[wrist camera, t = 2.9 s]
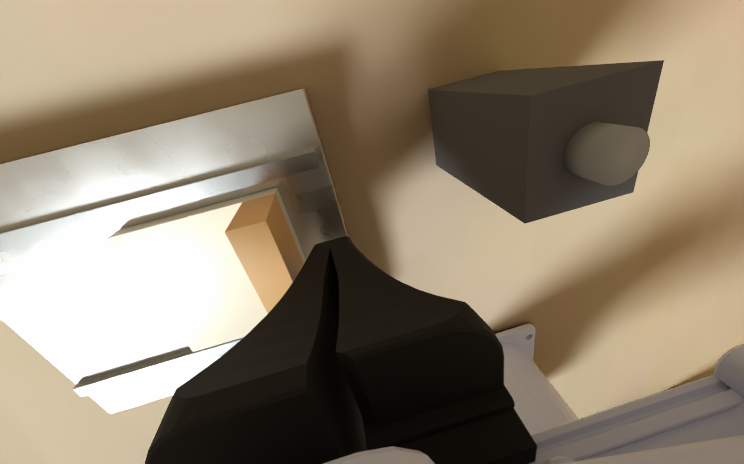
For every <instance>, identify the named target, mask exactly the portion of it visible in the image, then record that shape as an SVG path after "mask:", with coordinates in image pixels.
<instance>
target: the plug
mask: <svg viewBox="0 0 744 464" xmlns="http://www.w3.org/2000/svg"><path fill="white" fill-rule="evenodd" d="M663 62H664V60H663V61H647V62H632V63H616V64H601V65H585V66H570V67H554V68H539V69H523V70H508V71H499V72H495V73H491V74H487V75H484V76H480V77H476V78H472V79H468V80H464V81H460V82H456V83H452V84H448V85H444V86H441V87H437V88H433V89H429V90H428V93H429V102H430V111H431V120H432V129H433V138H434V146H435V155H436V164H437V166H439V167H440V168H442V169H443V170H445V171H446V172H448V173H449V174H451V175H452V176H454V177H455V178H457V179H458V180H460V181H461V182H463V183H465V184H466V185H468V186H469V187H471V188H472V189H474V190H475V191H477V192H478V193H480V194H481V195H483V196H484V197H486V198H487V199H489V200H490V201H492V202H493V203H495V204H496V205H498V206H499V207H501V208H502V209H504V210H505V211H507V212H508V213H510V214H511V215H513V216H514V217H516V218H517V219H519V220H520V221H522V222H523V223H528V222H532V221H535V220H539V219H542V218H545V217H549V216H552V215H556V214H559V213H563V212H566V211H570V210H573V209H577V208H580V207H583V206H587V205H590V204H594V203H597V202H601V201H604V200H608V199H611V198H615V197H618V196H622V195H625V194H628V193H632V192H633V191H634V186H635V182H636V178H637V173H638V170H639V169H640V168H641V166H642V165H643V163H644V161H645V159H646V157H647V155H648V152H649V147H650V140H649V136H648V134H647V131H648V126H649V122H650V118H651V113H652V109H653V105H654V100H655V96H656V92H657V88H658V83H659V79H660V75H661V70H662V66H663Z"/></svg>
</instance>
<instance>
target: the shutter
mask: <svg viewBox="0 0 744 464" xmlns="http://www.w3.org/2000/svg"><path fill="white" fill-rule="evenodd" d="M107 240H108V242H109V243H110V244H111V246H112V247H113V248H114V249H115V251H116V252H117V253H118V255H119V256H120V257H121V259H122V260H123V261H124V262H125V264H126V265H127V266H128V268H129V269H130V270H131V272H132V273H133V274H134V276H135V277H136V278H137V279H138V281H139V282H140V283H141V285H142V286H143V287H144V289H145V290H146V291H147V293H148V294H149V295H150V296H151V298H152V299H153V300H154V302H155V303H156V304H157V306H158V307H159V308H160V309H161V311H162V312H163V313H164V315H165V316H166V317H167V319H168V320H169V321H170V323H171V324H172V325H173V326H174V328H175V329H176V330H177V332H178V333H179V334H180V336H181V337H182V338H183V340H184V341H185V342H186V343H187V345H188V346H189V347H190V349H191V350H192V351H193V352H195V351H199V350H202V349H205V348H209V347H212V346H216V345H219V344H222V343H226V342H229V341H232V340H236V339H239V338H243V337H245V336H246V335H247V334H248V333H249V332H250V331H251V330H252V329H253V328H254V327H255V326H256V325H257V324H258V323H259V322H260V321H261V320H262V319H263V318H264V317H265V316H266V315H267V314H268V313H269V312H270V311H271V310H272V309H273V307H274V306H275V305H276V304H277V303H278V302H279V300H280V299H281V298H282V297H283V295H284V294H285V293H286V291H287V290H288V289H289V287H290V286H291V284H292V283H293V281H294V280H295V278H296V277H297V275H298V274H299V272H300V270H301V268H302V267H303V265H304V263H305V261H306V259H305V256H304V253H303V251H302V248H301V246H300V243H299V241H298V238H297V236H296V233H295V231H294V228H293V226H292V223H291V221H290V218H289V216H288V213H287V211H286V208H285V205H284V203H283V200H282V198H281V195H280V193H279V190H278V188H277V187H276V188H273V189H269V190H265V191H261V192H258V193H254V194H250V195H247V196H243V197H239V198H235V199H232V200H228V201H224V202H220V203H217V204H213V205H209V206H206V207H202V208H198V209H194V210H191V211H187V212H183V213H179V214H176V215H172V216H168V217H164V218H161V219H157V220H153V221H150V222H146V223H142V224H138V225H135V226H131V227H127V228H123V229H120V230H117V231H116V232H115V233H113V234H112V235H111V236H109V237H108V238H107Z"/></svg>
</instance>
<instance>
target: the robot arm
mask: <svg viewBox="0 0 744 464" xmlns="http://www.w3.org/2000/svg"><path fill="white" fill-rule="evenodd" d="M535 333H536V329H535V327H534V326H533V325H532V324H525V325H522V326H518V327H515V328H512V329H509V330H505V331H502V332H499V333H496V334H494V332H493V331H492V330H491V328H490V327H489V326H488V325H487V324H486V323H485V322H484V321H483V319H482V318H481V317H480V316H479V315H478V314H477V313H476V312H475V311H474V310H473V309H472V308H471V307H470V306H469V305H468V304H467V303H465V302H462V301H458V300H453V299H449V298H444V297H440V296H436V295H433V294H430V293H427V292H424V291H421V290H418V289H415V288H413V287H411V286H409V285H406V284H404V283H402V282H400V281H398V280H396V279H395V278H393V277H391V276H390V275H388V274H386V273H385V272H383V271H382V270H381V269H379V268H378V267H377V266H375V265H374V264H373V263H372V262H370V261H369V260H368V259H367V258H366V257H365V256H364V255H363V254H362V253H361V252H360V251H359V250H358V249H357V248H356V247H355V246H354V244H353V243H352V241H351V240H350V238H349V237H348V236H343V237H340V238H336V239H333V240H329V241H325V242H322V243H318V244H315V245H314V247H313V249H312V250H311V252H310V254H309V256H308V258H307V260H306V261H305V263H304V265H303V267H302V268H301V270H300V272H299V274H298V275H297V277H296V278H295V280H294V281H293V283H292V284H291V286H290V287H289V289H288V290H287V291H286V293H285V294H284V295H283V297H282V298H281V299H280V300H279V302H278V303H277V304H276V305H275V306H274V307H273V309H272V310H271V311H270V312H269V313H268V314H267V315H266V316H265V317H264V318H263V319H262V320H261V321H260V322H259V323H258V324H257V325H256V326H255V327H254V328H253V329H252V330H251V331H250V332H249V333H248V334H247V335H246V336H245V337H244V338H242V339H241V340H240V341H239V342H238V343H237V344H236V345H234V346H233V347H232V348H231V349H230V350H228V351H227V352H226V353H225V354H223V355H222V356H221V357H220V358H218V359H217V360H216V361H214V362H213V363H212V364H210V365H209V366H208V367H206V368H205V369H203V370H202V371H201V372H199V373H198V374H197V375H195V376H194V377H192V378H191V379H190V380H188V381H187V382H185V383H184V384H183V385H181V386H180V387H178V388H177V389H176V391H175V393H174V395H173V397H172V399H171V401H170V404H169V406H168V408H167V410H166V413H165V415H164V417H163V419H162V421H161V424H160V426H159V428H158V430H157V433H156V435H155V437H154V439H153V442H152V444H151V446H150V448H149V450H148V454H147V457H146V461H145V464H744V344H742V345H739V346H736V347H734V348H732V349H730V350H729V351H727V352H726V353H725V354H724V355H723V356H722V357H721V358H720V359H719V361H718V363H717V364H716V367H715V369H714V375H711V376H708V377H705V378H702V379H699V380H696V381H693V382H690V383H687V384H684V385H681V386H678V387H675V388H672V389H669V390H666V391H663V392H660V393H657V394H654V395H651V396H647V397H644V398H641V399H638V400H635V401H632V402H629V403H626V404H623V405H620V406H617V407H614V408H611V409H608V410H605V411H602V412H599V413H596V414H593V415H590V416H587V417H584V418H581V419H579V418H578V417H577V416H576V414H575V413H574V412H573V411H572V409H571V408H570V407H569V406H568V404H567V403H566V402H565V401H564V399H563V398H562V397H561V396H560V394H559V393H558V392H557V391H556V389H555V388H554V387H553V385H552V384H551V383H550V382H549V380H548V379H547V378H546V377H545V375H544V374H543V373H542V372H541V370H540V369H539V368H538V367H537V365H536V364H535V363H534V362H533V358H534V345H535Z"/></svg>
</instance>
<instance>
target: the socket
mask: <svg viewBox="0 0 744 464" xmlns="http://www.w3.org/2000/svg"><path fill="white" fill-rule="evenodd" d="M276 187H277V188H278V190H279V193H280V195H281V198H282V200H283V203H284V205H285V208H286V211H287V213H288V216H289V218H290V221H291V223H292V226H293V228H294V231H295V233H296V236H297V238H298V241H299V243H300V246H301V248H302V251H303V253H304V256H305V259H306V260H307V258H308V256H309V254H310V252H311V250H312V249H313V247H314V245H315V244H318V243H322V242H325V241H329V240H333V239H336V238H340V237H343V236H348V232H347V229H346V225H345V222H344V219H343V215H342V212H341V209H340V205H339V202H338V198H337V195H336V192H335V188H334V185H333V182H332V178H331V175H330V171H329V168H328V165H327V161H326V158H325V155H324V151H323V148H322V144H321V141H320V138H319V134H318V131H317V128H316V124H315V121H314V117H313V114H312V111H311V107H310V104H309V100H308V97H307V94H306V90H305V88H302V89H298V90H294V91H290V92H286V93H282V94H278V95H274V96H270V97H266V98H262V99H258V100H254V101H250V102H246V103H242V104H238V105H234V106H230V107H226V108H222V109H218V110H214V111H210V112H206V113H202V114H198V115H194V116H190V117H186V118H182V119H178V120H174V121H170V122H166V123H162V124H158V125H154V126H150V127H146V128H142V129H138V130H134V131H130V132H126V133H122V134H118V135H114V136H110V137H106V138H102V139H98V140H94V141H90V142H86V143H82V144H78V145H74V146H70V147H66V148H62V149H58V150H54V151H50V152H46V153H42V154H38V155H34V156H30V157H26V158H22V159H18V160H14V161H10V162H6V163H2V164H0V319H2V320H3V321H4V322H5V323H6V324H7V325H8V326H10V327H11V328H12V329H13V330H14V331H15V332H17V333H18V334H19V335H20V336H21V337H22V338H23V339H25V340H26V341H27V342H28V343H29V344H30V345H31V346H33V347H34V348H35V349H36V350H37V351H38V352H39V353H41V354H42V355H43V356H44V357H45V358H46V359H48V360H49V361H50V362H51V363H52V364H53V365H54V366H56V367H57V368H58V369H59V370H60V371H61V372H62V373H64V374H65V375H66V376H67V377H68V378H69V379H70V380H72V381H73V382H74V383H75V384H76V386H75V387H74V388H73V390H74V391H75V392H76V393H77V394H78V395H80V396H81V397H84V396H88V395H89V396H90V397H91V398H92V399H93V400H95V401H96V402H97V403H98V404H99V405H100V406H101V407H103V408H104V409H105V410H106V411H107V412H108V413H109V414H112V413H116V412H119V411H122V410H126V409H129V408H132V407H135V406H139V405H142V404H145V403H149V402H152V401H155V400H159V399H162V398H165V397H168V396H172V395H174V393H175V391H176V389H177V388H178V387H180V386H181V385H183V384H184V383H185V382H187V381H188V380H190V379H191V378H192V377H194V376H195V375H197V374H198V373H199V372H201V371H202V370H203V369H205V368H206V367H208V366H209V365H210V364H212V363H213V362H214V361H216V360H217V359H218V358H220V357H221V356H222V355H223V354H225V353H226V352H227V351H228V350H230V349H231V348H232V347H233V346H234V345H236V344H237V343H238V342H239V341H240V340H241V339H242V338H239V339H236V340H232V341H229V342H226V343H222V344H219V345H216V346H212V347H209V348H205V349H202V350H199V351H195V352H193V351H192V350H191V349H190V347H189V346H188V345H187V343H186V342H185V341H184V340H183V338H182V337H181V336H180V334H179V333H178V332H177V330H176V329H175V328H174V326H173V325H172V324H171V323H170V321H169V320H168V319H167V317H166V316H165V315H164V313H163V312H162V311H161V309H160V308H159V307H158V306H157V304H156V303H155V302H154V300H153V299H152V298H151V296H150V295H149V294H148V293H147V291H146V290H145V289H144V287H143V286H142V285H141V283H140V282H139V281H138V279H137V278H136V277H135V276H134V274H133V273H132V272H131V270H130V269H129V268H128V266H127V265H126V264H125V262H124V261H123V260H122V259H121V257H120V256H119V255H118V253H117V252H116V251H115V249H114V248H113V247H112V246H111V244H110V243H109V242H108V240H107V238H108V237H109V236H111V235H112V234H113V233H115V232H116V231H117V230H120V229H123V228H127V227H131V226H135V225H138V224H142V223H146V222H150V221H153V220H157V219H161V218H164V217H168V216H172V215H176V214H179V213H183V212H187V211H191V210H194V209H198V208H202V207H206V206H209V205H213V204H217V203H220V202H224V201H228V200H232V199H235V198H239V197H243V196H247V195H250V194H254V193H258V192H261V191H265V190H269V189H273V188H276ZM348 237H349V236H348ZM243 338H244V337H243Z"/></svg>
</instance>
